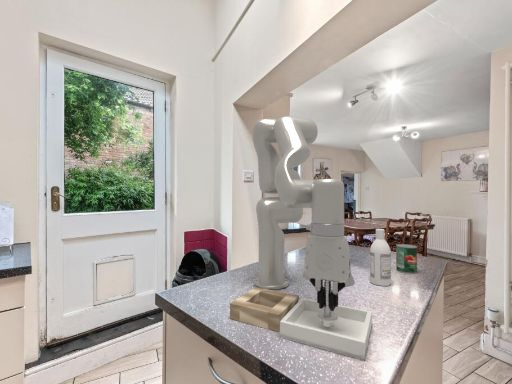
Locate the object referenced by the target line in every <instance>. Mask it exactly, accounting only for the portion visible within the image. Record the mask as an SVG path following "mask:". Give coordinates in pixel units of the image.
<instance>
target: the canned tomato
mask: <svg viewBox="0 0 512 384" xmlns="http://www.w3.org/2000/svg"><path fill="white" fill-rule="evenodd" d="M395 247H396V249H395V250H396V251H395V252H396V253H395V256H396V257H395V258H396V262H395V263H396V265H395V266H396V269H395V270H396V271H397V272H398V273H402V274H410V275H415V274H418V246H417V245H415V244H414V245H413V244H407V243H402V244H401V243H398V244H397V243H396V244H395Z"/></svg>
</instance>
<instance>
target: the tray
mask: <svg viewBox="0 0 512 384" xmlns="http://www.w3.org/2000/svg"><path fill="white" fill-rule="evenodd" d="M320 311H324V307H323V308H322V309H320V308H319V303H317V299H316V300H315V299H311V298H310V299H309V298H304V297H301V299H299V302H298V303H297V304H296V305H295V306H294V307H293V308H292V309H291V310H290V311H289V312H288V313H287V315H286V316H285V317H284V318H283V319H282V320H281V321H280V332H279V338H281V339H286V340H289V341H292V342H296V343H299V344H303V345H307V346H311V347H314V348H318V349H320V350H325V351H328V352H332V353H335V354H338V355H342V356H345V357H350V358H353V359H356V360H360V361H363V362H365V361H366V357H367V351H368V347H369V343H370V337H371V333H372V327H373V311H371V310H366V309H361V308H358V307H357V308H356V307H352V306H346V305H341V304H338V306H337V307H335V309H334V311H332V312H334V313H336V314H337V315H338V320H337V321H334V326H331V327H326V326H323V324H322V320H320V319H319V318H318V317H317V314H318V313H319V312H320Z"/></svg>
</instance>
